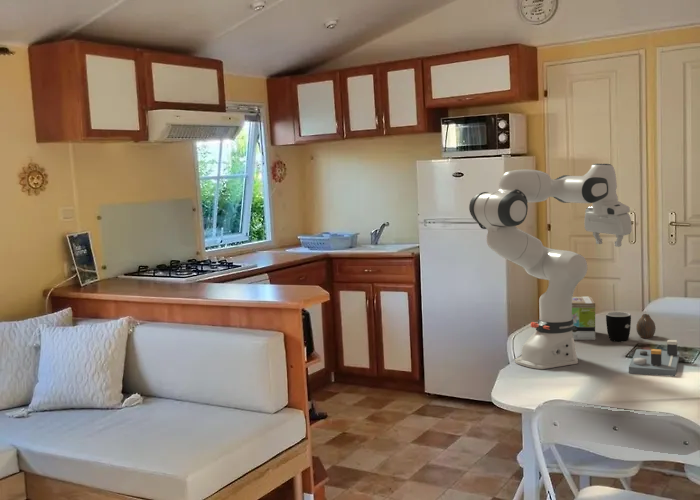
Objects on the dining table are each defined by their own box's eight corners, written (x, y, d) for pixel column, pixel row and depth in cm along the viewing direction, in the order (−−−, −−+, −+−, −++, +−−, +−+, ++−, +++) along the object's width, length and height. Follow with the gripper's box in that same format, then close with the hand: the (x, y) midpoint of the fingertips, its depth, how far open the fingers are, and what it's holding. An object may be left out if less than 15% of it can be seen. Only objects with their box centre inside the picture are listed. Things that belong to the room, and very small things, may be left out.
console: (675, 376, 241) (675, 365, 241) (628, 373, 248) (628, 362, 247) (679, 357, 263) (679, 347, 262) (636, 354, 269) (636, 345, 269)
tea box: (596, 340, 292) (595, 302, 291) (569, 340, 294) (568, 302, 293) (591, 331, 307) (591, 295, 305) (566, 331, 309) (565, 295, 307)
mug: (626, 343, 284) (626, 317, 283) (603, 341, 290) (602, 315, 289) (636, 337, 294) (636, 311, 293) (613, 334, 299) (613, 309, 298)
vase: (658, 338, 290) (658, 316, 289) (640, 339, 290) (640, 316, 289) (651, 334, 297) (651, 312, 296) (633, 335, 297) (633, 313, 296)
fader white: (676, 354, 257) (676, 342, 257) (667, 354, 258) (667, 341, 258) (677, 353, 259) (677, 340, 259) (667, 352, 261) (667, 339, 260)
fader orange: (661, 364, 246) (660, 351, 246) (651, 364, 248) (651, 350, 247) (661, 362, 249) (661, 349, 248) (651, 362, 250) (651, 348, 249)
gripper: (578, 207, 282) (581, 243, 284) (619, 210, 263) (622, 249, 266) (591, 204, 284) (594, 240, 287) (633, 207, 266) (636, 246, 268)
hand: (608, 245), depth 276 cm, fingers open, 8 cm apart
